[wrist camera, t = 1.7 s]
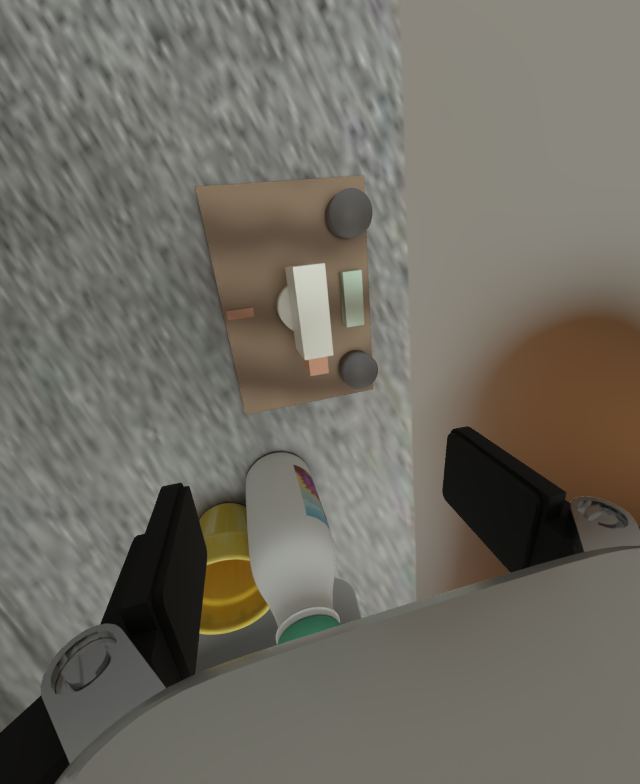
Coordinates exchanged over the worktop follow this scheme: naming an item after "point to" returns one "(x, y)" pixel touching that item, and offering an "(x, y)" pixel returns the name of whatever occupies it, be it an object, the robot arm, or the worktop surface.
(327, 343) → the wing knob
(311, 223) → the brown lever switch panel
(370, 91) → the worktop surface
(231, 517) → the plant pot
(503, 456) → the robot arm
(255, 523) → the milk bottle
